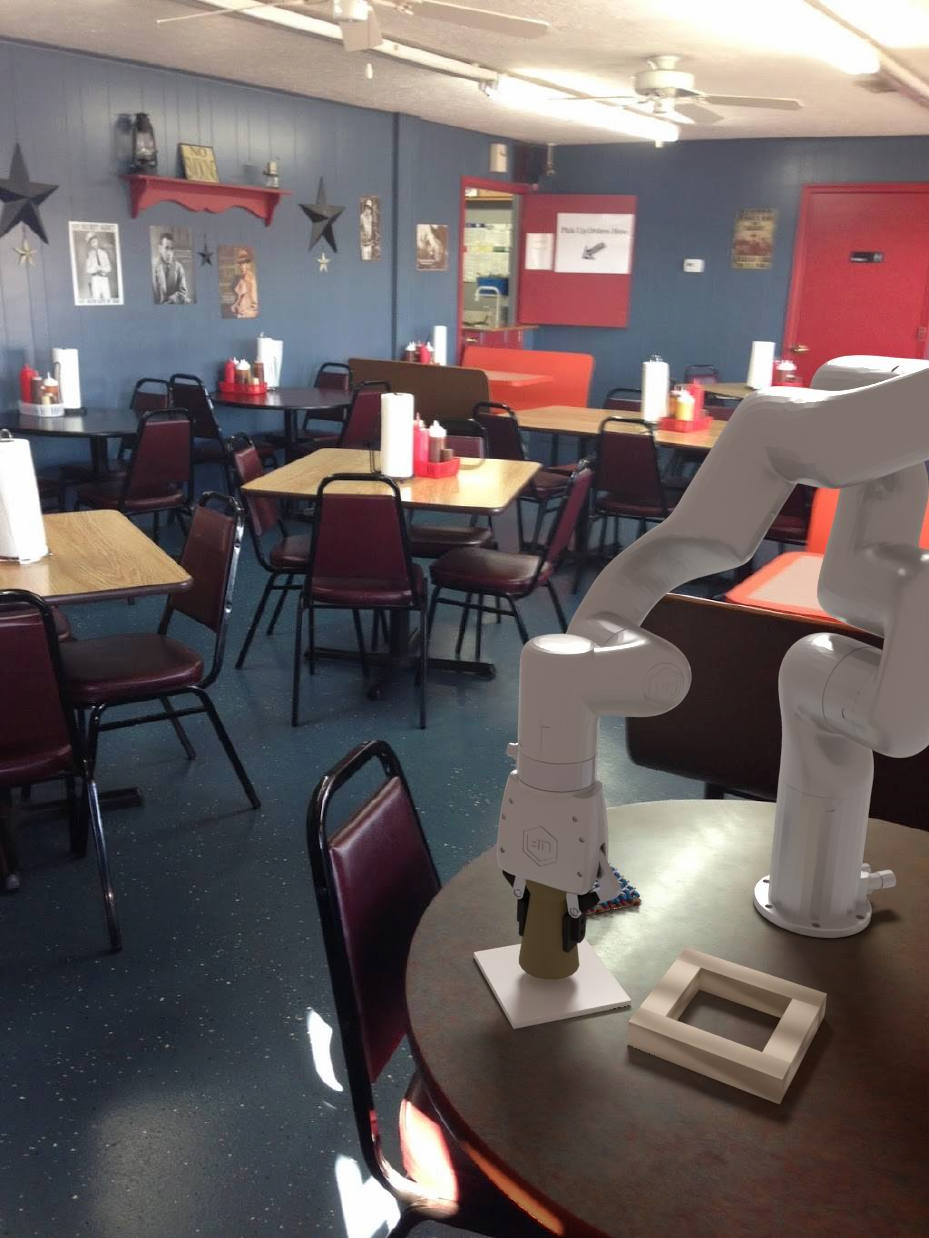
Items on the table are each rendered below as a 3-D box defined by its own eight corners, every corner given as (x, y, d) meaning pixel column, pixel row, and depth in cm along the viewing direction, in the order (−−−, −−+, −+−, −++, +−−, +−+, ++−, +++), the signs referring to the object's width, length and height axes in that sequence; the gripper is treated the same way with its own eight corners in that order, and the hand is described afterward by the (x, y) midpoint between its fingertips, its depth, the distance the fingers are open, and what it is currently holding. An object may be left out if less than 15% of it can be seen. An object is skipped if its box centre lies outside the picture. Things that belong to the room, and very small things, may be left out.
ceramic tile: (581, 938, 115) (581, 933, 115) (630, 1005, 104) (631, 1000, 104) (473, 957, 112) (473, 952, 112) (513, 1028, 101) (513, 1023, 101)
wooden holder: (684, 968, 110) (686, 947, 109) (824, 1016, 103) (826, 993, 102) (627, 1044, 99) (628, 1021, 98) (779, 1104, 92) (782, 1079, 91)
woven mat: (601, 865, 131) (602, 849, 131) (644, 909, 122) (645, 893, 121) (522, 879, 128) (522, 864, 127) (560, 926, 118) (560, 910, 118)
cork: (576, 983, 104) (581, 881, 101) (514, 975, 105) (516, 873, 102) (582, 948, 110) (587, 850, 106) (523, 940, 111) (526, 843, 108)
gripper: (460, 759, 103) (458, 929, 108) (622, 803, 94) (611, 985, 99) (500, 734, 109) (496, 896, 114) (656, 773, 100) (644, 946, 105)
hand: (550, 936), depth 107 cm, fingers closed on cork, 4 cm apart
